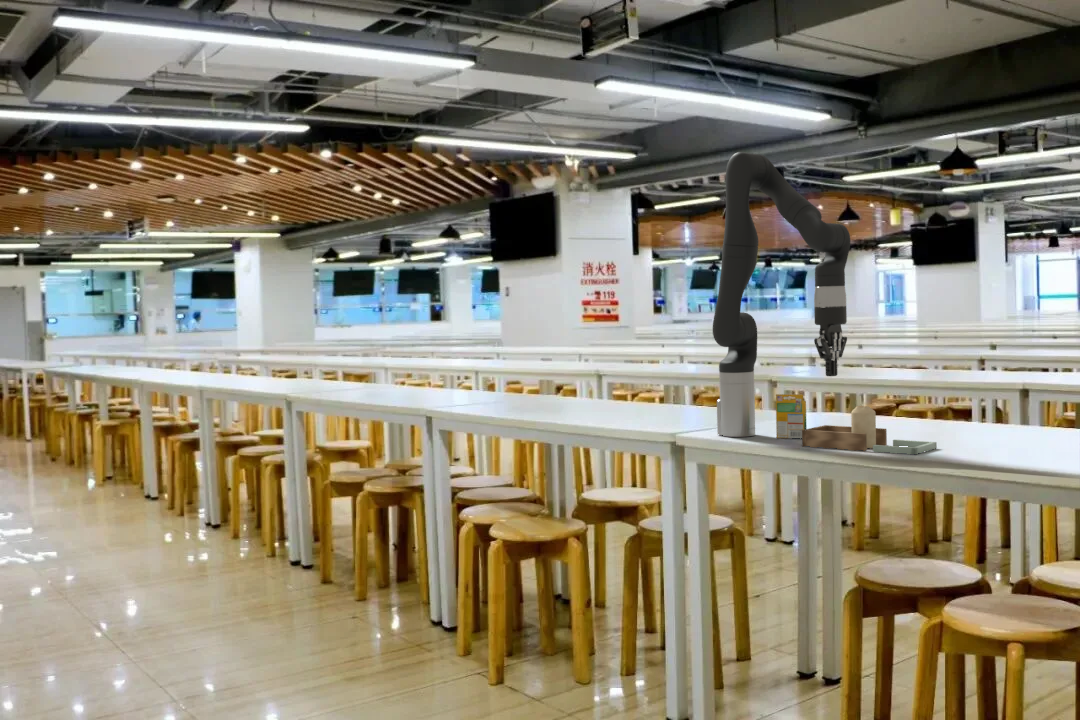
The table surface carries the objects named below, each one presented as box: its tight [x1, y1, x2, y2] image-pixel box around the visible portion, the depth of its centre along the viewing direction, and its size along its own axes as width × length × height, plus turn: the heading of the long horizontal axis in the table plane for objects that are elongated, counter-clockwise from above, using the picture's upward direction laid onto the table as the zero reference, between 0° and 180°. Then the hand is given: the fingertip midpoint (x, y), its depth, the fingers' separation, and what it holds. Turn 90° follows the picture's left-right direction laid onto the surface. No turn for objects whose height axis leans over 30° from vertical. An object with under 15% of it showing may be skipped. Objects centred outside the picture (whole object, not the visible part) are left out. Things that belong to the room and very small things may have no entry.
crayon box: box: [775, 393, 808, 440], centre depth 252 cm, size 7×3×12 cm, turn 62°
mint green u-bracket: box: [872, 439, 938, 455], centre depth 224 cm, size 10×12×2 cm
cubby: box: [801, 424, 888, 452], centre depth 235 cm, size 16×12×4 cm
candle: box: [850, 405, 877, 449], centre depth 231 cm, size 6×6×10 cm
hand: (831, 375), depth 236 cm, fingers closed
